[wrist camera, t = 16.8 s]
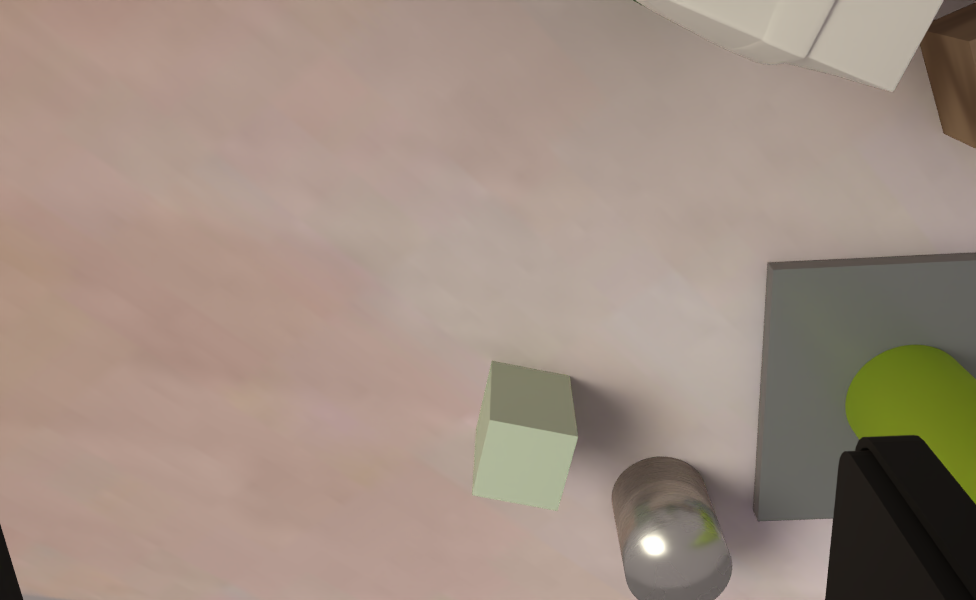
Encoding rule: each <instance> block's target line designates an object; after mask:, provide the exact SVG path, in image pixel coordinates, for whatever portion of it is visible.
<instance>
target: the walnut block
mask: <svg viewBox="0 0 976 600" xmlns="http://www.w3.org/2000/svg"><path fill="white" fill-rule="evenodd" d="M920 46H921V50H922V54H923V58H924V61H925V65H926V69H927V73H928V76H929V80H930V84H931V88H932V91H933V95H934V99H935V103H936V106H937V110H938V114H939V118H940V121H941V125H942V129H943V133H944V134H946V135H948V136H950V137H952V138H954V139H956V140H959V141H961V142H963V143H965V144H967V145H969V146H971V147H973V148H976V3H974V4H971V5H969V6H967V7H964V8H962V9H960V10H957V11H955V12H953V13H950V14H948V15H946V16H943V17H941V18H938V19H936V20H934V21H932V23H931V25H930V27H929V28H928V30H927V32H926V34H925V36H924V38H923V39H922V41H921V43H920Z"/></svg>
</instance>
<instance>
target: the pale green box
mask: <svg viewBox="0 0 976 600" xmlns="http://www.w3.org/2000/svg"><path fill="white" fill-rule="evenodd" d="M577 439H578V432H577V425H576V418H575V411H574V404H573V397H572V390H571V383H570V376H567V375H562V374H557V373H551V372H546V371H541V370H536V369H531V368H526V367H521V366H515V365H510V364H505V363H500V362H495V361H492V362H491V366H490V371H489V375H488V379H487V384H486V388H485V392H484V397H483V401H482V405H481V410H480V414H479V418H478V423H477V427H476V437H475V454H474V470H473V487H472V495H474V496H479V497H484V498H490V499H495V500H501V501H506V502H511V503H517V504H522V505H528V506H533V507H538V508H544V509H549V510H555V511H558V507H559V504H560V500H561V496H562V493H563V489H564V486H565V482H566V479H567V475H568V471H569V468H570V464H571V461H572V457H573V453H574V450H575V446H576V443H577Z"/></svg>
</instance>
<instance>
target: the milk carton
mask: <svg viewBox="0 0 976 600" xmlns="http://www.w3.org/2000/svg"><path fill="white" fill-rule="evenodd" d="M634 1H635V2H637V3H639V4H641V5H643V6H644V7H646V8H648V9H650V10H651V11H653V12H655V13H657V14H659V15H661V16H663V17H664V18H666V19H668V20H670V21H672V22H674V23H676V24H678V25H679V26H681V27H683V28H685V29H687V30H689V31H692V32H693V33H695V34H697V35H699V36H700V37H702V38H704V39H706V40H708V41H710V42H712V43H714V44H716V45H718V46H720V47H722V48H724V49H726V50H728V51H730V52H733V53H735V54H737V55H740V56H742V57H745V58H747V59H749V60H752V61H754V62H757V63H761V64H768V65H774V64H783V63H786V64H790V65H794V66H799V67H803V68H807V69H811V70H815V71H819V72H823V73H827V74H831V75H835V76H838V77H841V78H845V79H848V80H851V81H855V82H858V83H862V84H865V85H868V86H872V87H875V88H879V89H883V90H886V91H890V92H894V90H895V88H896V87H897V85H898V83H899V81H900V79H901V78H902V76H903V74H904V72H905V70H906V69H907V67H908V65H909V63H910V61H911V59H912V58H913V56H914V54H915V52H916V50H917V48H918V47H919V45H920V43H921V41H922V39H923V38H924V36H925V34H926V32H927V30H928V28H929V27H930V25H931V23H932V21H933V19H934V17H935V16H936V14H937V12H938V10H939V8H940V7H941V5H942V3H943V1H944V0H634Z"/></svg>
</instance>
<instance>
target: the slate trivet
mask: <svg viewBox="0 0 976 600" xmlns="http://www.w3.org/2000/svg"><path fill="white" fill-rule="evenodd" d="M905 345H925V346H931V347H934V348H937V349H940V350H942V351H944V352H946V353H947V354H949V355H950V356H951V357H953V358H954V359H955V360H956V361H957V362H958V363H959V364H960V365H961V366H962V367H963V368H964V369H965V370H967V371H968V372H969V373H970V374H971V375H972V376H973V377H974V378H975V379H976V253H960V254H939V255H918V256H897V257H876V258H855V259H834V260H814V261H793V262H772V263H768V265H767V282H766V299H765V316H764V333H763V350H762V367H761V384H760V401H759V418H758V435H757V452H756V469H755V486H754V503H753V511H754V513H755V516H756V518H757V520H758V521H778V520H805V519H831V518H833V516H834V505H835V495H836V485H837V475H838V465H839V459H840V456H841V454H842V453H843V452H844V451H855V448H856V445H857V443H858V441H859V439H858V437H857V436H856V434H855V433H854V431H853V430H852V428H851V427H850V425H849V422H848V420H847V416H846V409H845V403H846V396H847V392H848V389H849V386H850V384H851V382H852V380H853V379H854V377H855V376H856V374H857V373H858V372H859V370H860V369H861V368H862V367H863V366H864V365H865V364H866V363H867V362H869V361H870V360H871V359H873V358H874V357H876V356H877V355H879V354H881V353H883V352H885V351H887V350H890V349H893V348H896V347H900V346H905Z"/></svg>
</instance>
